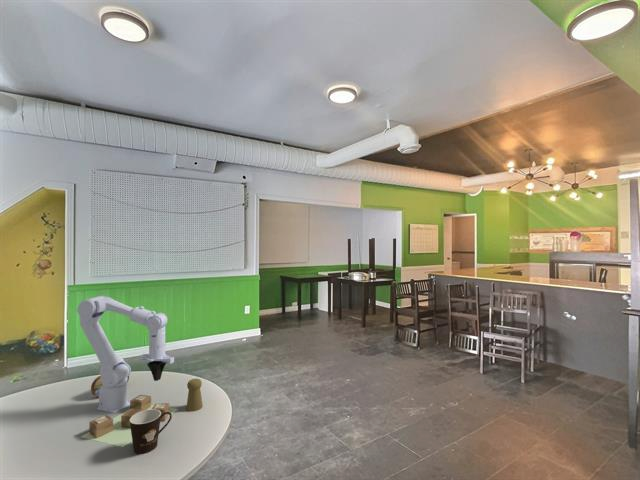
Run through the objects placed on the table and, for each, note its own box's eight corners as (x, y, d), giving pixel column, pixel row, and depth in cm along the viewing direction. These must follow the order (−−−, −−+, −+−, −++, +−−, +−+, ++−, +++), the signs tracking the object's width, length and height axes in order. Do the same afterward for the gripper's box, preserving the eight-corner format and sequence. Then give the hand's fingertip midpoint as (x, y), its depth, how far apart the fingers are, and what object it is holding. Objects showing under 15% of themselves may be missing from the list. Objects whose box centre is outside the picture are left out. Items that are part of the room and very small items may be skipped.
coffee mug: (127, 461, 95) (127, 426, 95) (131, 444, 103) (131, 412, 103) (171, 450, 100) (171, 418, 100) (171, 435, 108) (171, 405, 108)
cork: (197, 413, 121) (197, 383, 122) (182, 411, 123) (182, 382, 123) (205, 405, 127) (205, 377, 127) (192, 403, 129) (192, 376, 129)
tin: (94, 400, 132) (94, 379, 132) (89, 399, 133) (89, 378, 133) (129, 385, 145) (129, 367, 145) (125, 384, 147) (125, 365, 147)
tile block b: (149, 422, 115) (149, 410, 115) (155, 414, 120) (155, 403, 120) (164, 421, 115) (164, 409, 116) (169, 413, 120) (169, 402, 120)
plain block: (121, 427, 112) (121, 415, 112) (131, 419, 117) (131, 408, 117) (134, 428, 111) (134, 416, 111) (144, 420, 116) (144, 409, 116)
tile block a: (89, 433, 108) (89, 420, 108) (105, 426, 112) (105, 414, 112) (96, 438, 105) (96, 425, 105) (113, 430, 110) (113, 418, 110)
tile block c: (130, 411, 122) (130, 400, 122) (140, 405, 127) (140, 394, 127) (141, 412, 121) (141, 401, 121) (151, 406, 126) (151, 395, 126)
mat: (80, 438, 106) (80, 436, 106) (141, 403, 129) (141, 402, 129) (122, 448, 101) (122, 447, 101) (178, 410, 124) (178, 409, 124)
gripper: (134, 346, 125) (134, 381, 125) (164, 349, 121) (164, 386, 121) (148, 341, 132) (148, 374, 132) (178, 344, 128) (178, 378, 128)
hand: (157, 379), depth 127 cm, fingers closed
